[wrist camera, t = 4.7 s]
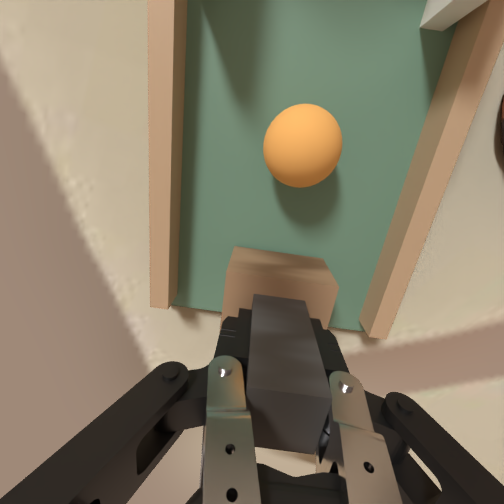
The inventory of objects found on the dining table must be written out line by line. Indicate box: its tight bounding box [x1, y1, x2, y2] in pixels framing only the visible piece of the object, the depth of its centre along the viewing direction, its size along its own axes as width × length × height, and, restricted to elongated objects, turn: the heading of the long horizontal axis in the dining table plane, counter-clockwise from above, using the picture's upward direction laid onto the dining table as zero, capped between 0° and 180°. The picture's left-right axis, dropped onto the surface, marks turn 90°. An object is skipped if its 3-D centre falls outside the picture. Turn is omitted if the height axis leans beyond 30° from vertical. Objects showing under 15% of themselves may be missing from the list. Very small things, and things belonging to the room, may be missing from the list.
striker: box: [220, 246, 339, 454], centre depth 13 cm, size 6×4×10 cm, turn 82°
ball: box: [263, 104, 342, 188], centre depth 13 cm, size 4×4×4 cm
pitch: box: [148, 0, 504, 339], centre depth 13 cm, size 16×26×6 cm, turn 172°
